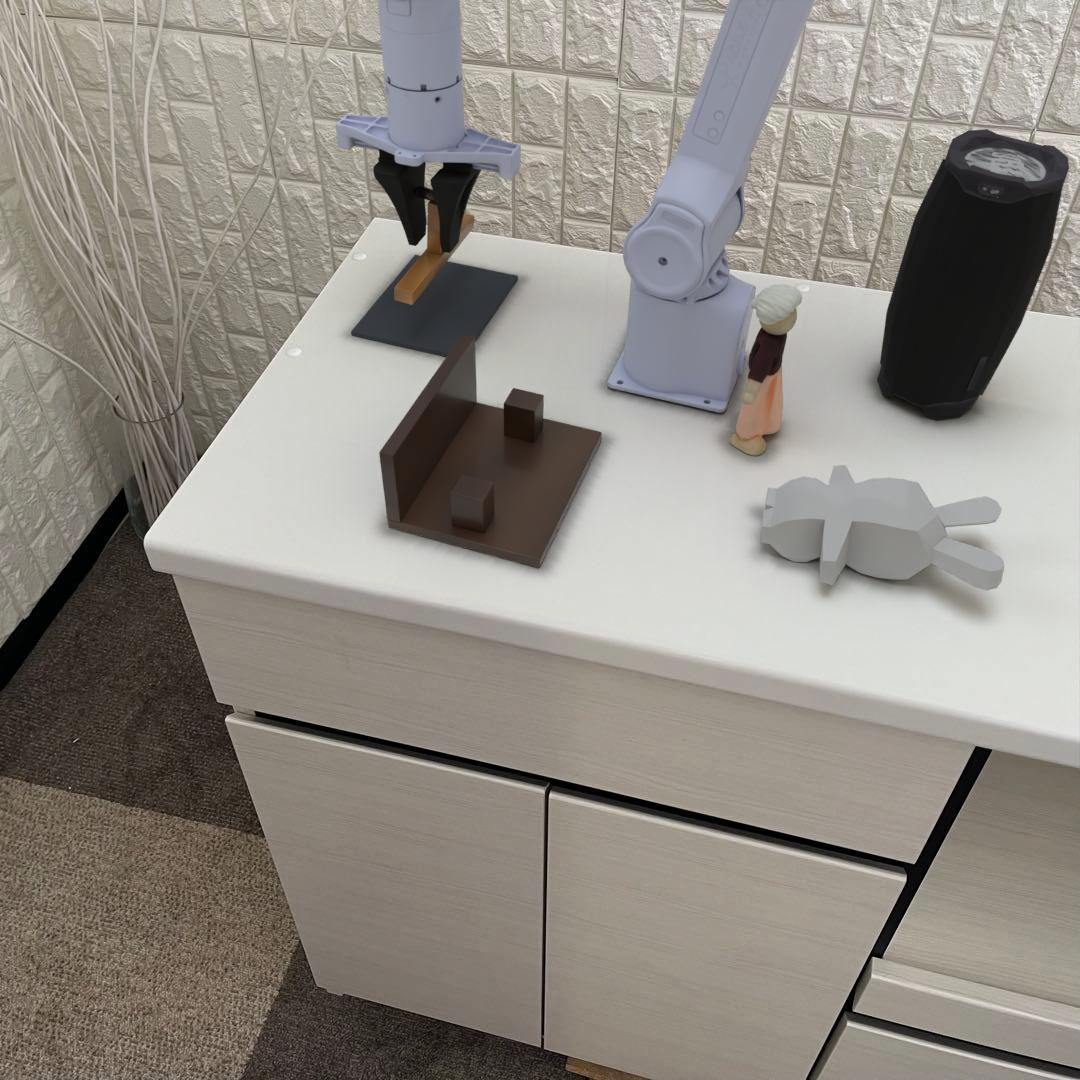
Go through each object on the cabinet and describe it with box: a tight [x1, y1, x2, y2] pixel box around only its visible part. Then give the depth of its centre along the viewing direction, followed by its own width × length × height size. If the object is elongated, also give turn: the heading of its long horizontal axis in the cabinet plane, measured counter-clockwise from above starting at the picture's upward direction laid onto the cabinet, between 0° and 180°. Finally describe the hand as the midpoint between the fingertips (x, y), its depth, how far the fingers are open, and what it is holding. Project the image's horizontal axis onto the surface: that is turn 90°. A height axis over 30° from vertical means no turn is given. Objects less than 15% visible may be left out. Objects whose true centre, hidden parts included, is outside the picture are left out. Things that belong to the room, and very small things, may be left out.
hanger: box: [394, 186, 475, 305], centre depth 86 cm, size 3×13×6 cm, turn 161°
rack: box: [378, 334, 603, 569], centre depth 73 cm, size 11×14×7 cm
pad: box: [350, 254, 519, 358], centre depth 91 cm, size 10×13×1 cm
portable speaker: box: [876, 128, 1070, 421], centre depth 77 cm, size 9×9×20 cm
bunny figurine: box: [759, 464, 1005, 591], centre depth 70 cm, size 10×5×15 cm
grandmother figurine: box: [729, 283, 803, 456], centre depth 76 cm, size 8×4×13 cm, turn 168°
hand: (433, 243), depth 87 cm, fingers closed on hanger, 2 cm apart
